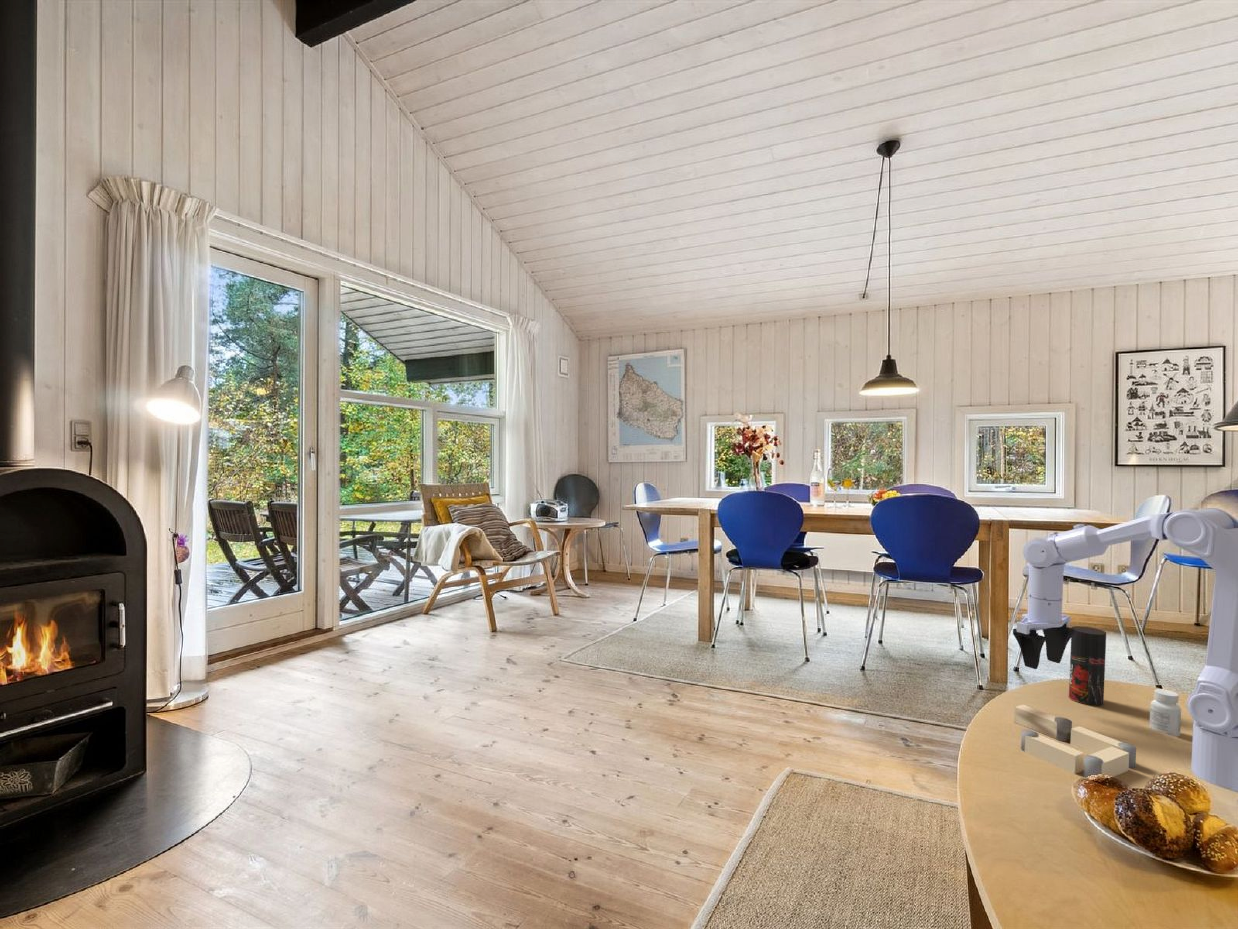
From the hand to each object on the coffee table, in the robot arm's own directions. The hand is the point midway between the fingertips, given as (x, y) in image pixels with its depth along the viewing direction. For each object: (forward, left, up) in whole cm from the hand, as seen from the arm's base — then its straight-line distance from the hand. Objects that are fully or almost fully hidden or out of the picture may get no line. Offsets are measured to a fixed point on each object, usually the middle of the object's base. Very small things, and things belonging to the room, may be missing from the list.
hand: (1042, 664), depth 127 cm
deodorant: (0, -16, -10) cm, 19 cm away
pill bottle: (-15, -13, -10) cm, 22 cm away
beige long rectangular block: (-6, +9, -9) cm, 14 cm away
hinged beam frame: (-14, +14, -10) cm, 22 cm away
